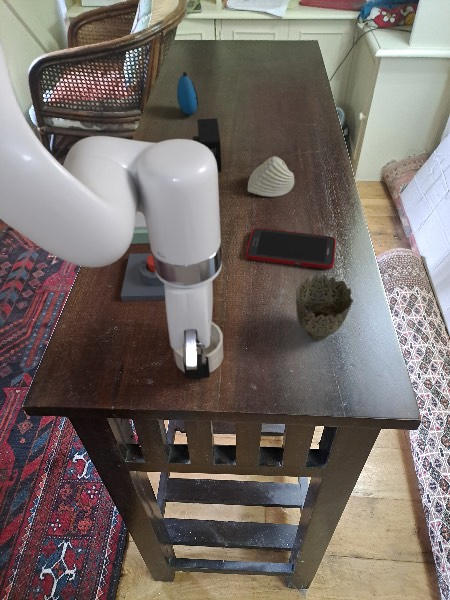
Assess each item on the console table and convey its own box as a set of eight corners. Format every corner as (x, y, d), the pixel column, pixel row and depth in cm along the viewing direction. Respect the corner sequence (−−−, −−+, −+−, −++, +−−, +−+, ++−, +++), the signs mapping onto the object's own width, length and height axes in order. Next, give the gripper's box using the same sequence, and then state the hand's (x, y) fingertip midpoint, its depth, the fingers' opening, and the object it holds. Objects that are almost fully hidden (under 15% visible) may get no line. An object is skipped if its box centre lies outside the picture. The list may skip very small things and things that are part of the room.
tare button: (147, 273, 72) (145, 265, 71) (149, 260, 74) (147, 253, 73) (166, 272, 72) (165, 265, 71) (167, 260, 74) (166, 252, 73)
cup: (290, 312, 69) (295, 273, 63) (340, 313, 68) (349, 274, 63) (292, 351, 64) (297, 314, 58) (346, 353, 63) (356, 315, 58)
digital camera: (194, 149, 104) (191, 119, 98) (218, 147, 104) (217, 117, 99) (195, 173, 96) (193, 142, 91) (221, 171, 97) (220, 140, 91)
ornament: (203, 118, 114) (200, 76, 106) (185, 121, 112) (181, 79, 105) (191, 105, 119) (188, 64, 112) (175, 108, 118) (170, 67, 110)
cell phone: (252, 231, 82) (252, 227, 82) (335, 241, 80) (336, 236, 79) (244, 259, 77) (244, 255, 76) (332, 270, 75) (333, 266, 74)
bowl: (173, 378, 61) (169, 359, 58) (176, 338, 66) (173, 319, 63) (223, 377, 61) (222, 358, 58) (223, 337, 66) (222, 318, 63)
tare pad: (121, 301, 71) (118, 287, 69) (130, 258, 78) (127, 245, 76) (192, 299, 71) (190, 286, 69) (194, 257, 78) (193, 243, 76)
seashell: (308, 179, 89) (285, 175, 83) (279, 208, 94) (256, 206, 88) (287, 148, 92) (264, 142, 86) (260, 178, 97) (236, 174, 91)
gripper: (160, 209, 56) (176, 307, 69) (143, 315, 44) (166, 409, 57) (221, 207, 56) (225, 306, 69) (221, 314, 44) (226, 408, 57)
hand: (198, 352), depth 63 cm, fingers closed on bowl, 6 cm apart
